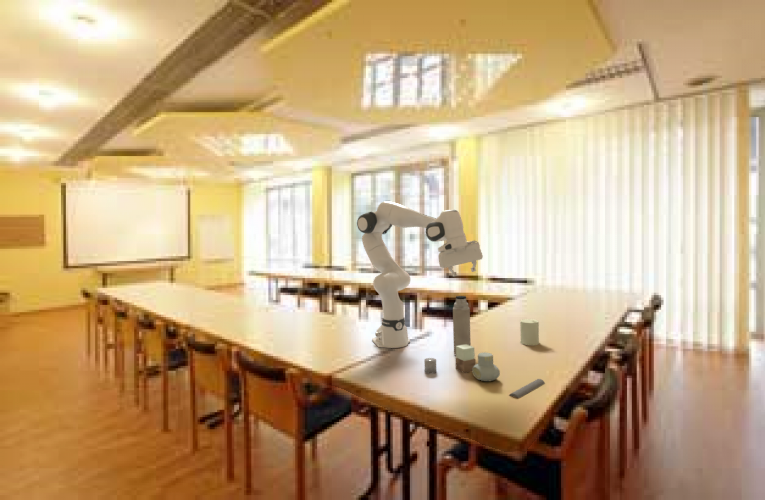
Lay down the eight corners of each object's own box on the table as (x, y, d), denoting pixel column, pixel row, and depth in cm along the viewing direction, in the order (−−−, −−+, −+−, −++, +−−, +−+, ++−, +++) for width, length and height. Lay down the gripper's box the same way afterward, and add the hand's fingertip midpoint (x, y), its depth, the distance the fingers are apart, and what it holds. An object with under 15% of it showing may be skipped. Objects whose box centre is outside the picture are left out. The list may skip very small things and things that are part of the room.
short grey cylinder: (422, 370, 177) (422, 359, 176) (432, 368, 179) (431, 357, 179) (428, 374, 172) (428, 362, 172) (438, 372, 174) (438, 360, 174)
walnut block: (455, 368, 178) (455, 357, 177) (466, 366, 180) (466, 355, 180) (464, 373, 172) (464, 361, 172) (475, 370, 175) (475, 358, 175)
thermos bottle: (455, 350, 203) (453, 294, 201) (471, 351, 200) (470, 295, 199) (452, 355, 195) (451, 297, 194) (469, 356, 193) (468, 297, 191)
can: (533, 346, 205) (533, 322, 205) (516, 343, 212) (516, 320, 212) (542, 342, 212) (542, 319, 211) (526, 339, 218) (525, 317, 218)
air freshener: (502, 382, 161) (502, 357, 160) (483, 385, 158) (483, 359, 158) (487, 373, 171) (487, 349, 171) (470, 375, 169) (469, 351, 168)
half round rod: (545, 384, 158) (545, 380, 158) (519, 400, 145) (518, 395, 145) (535, 382, 161) (535, 377, 161) (508, 396, 148) (508, 392, 148)
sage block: (456, 357, 177) (456, 346, 177) (466, 355, 180) (466, 344, 180) (464, 361, 172) (463, 349, 172) (474, 358, 175) (474, 347, 175)
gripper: (475, 240, 192) (482, 269, 191) (434, 249, 188) (441, 278, 187) (480, 238, 186) (488, 268, 185) (439, 247, 181) (446, 278, 181)
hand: (464, 273), depth 186 cm, fingers open, 8 cm apart
